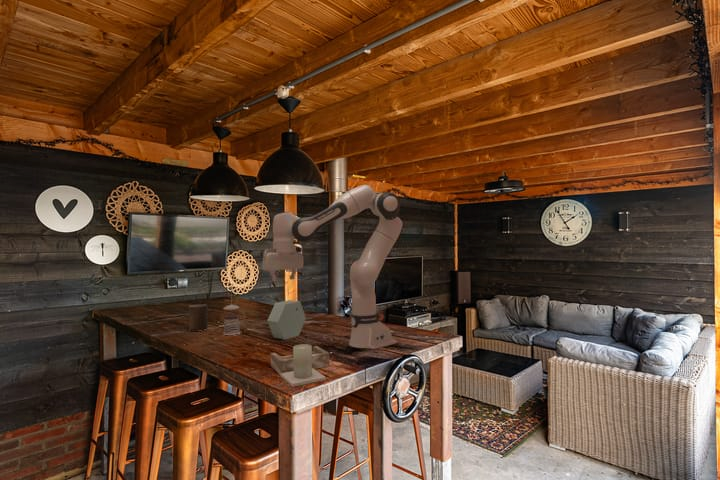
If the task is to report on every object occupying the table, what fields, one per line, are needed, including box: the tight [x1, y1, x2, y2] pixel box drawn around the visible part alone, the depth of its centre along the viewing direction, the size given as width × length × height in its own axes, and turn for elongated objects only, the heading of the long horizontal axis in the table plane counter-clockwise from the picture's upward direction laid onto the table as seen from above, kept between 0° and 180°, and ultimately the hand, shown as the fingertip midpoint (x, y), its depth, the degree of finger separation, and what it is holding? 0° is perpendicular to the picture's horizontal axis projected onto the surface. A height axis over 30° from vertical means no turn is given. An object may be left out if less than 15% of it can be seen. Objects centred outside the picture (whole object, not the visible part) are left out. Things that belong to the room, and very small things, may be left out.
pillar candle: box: [188, 303, 208, 331], centre depth 214 cm, size 10×10×15 cm
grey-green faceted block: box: [267, 299, 307, 341], centre depth 197 cm, size 17×8×21 cm
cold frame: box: [270, 345, 330, 376], centre depth 148 cm, size 19×12×5 cm, turn 120°
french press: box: [222, 286, 246, 336], centre depth 205 cm, size 10×12×25 cm
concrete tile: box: [280, 368, 326, 388], centre depth 135 cm, size 12×12×1 cm
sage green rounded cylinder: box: [292, 343, 313, 378], centre depth 135 cm, size 6×6×10 cm
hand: (283, 280), depth 170 cm, fingers open, 8 cm apart
